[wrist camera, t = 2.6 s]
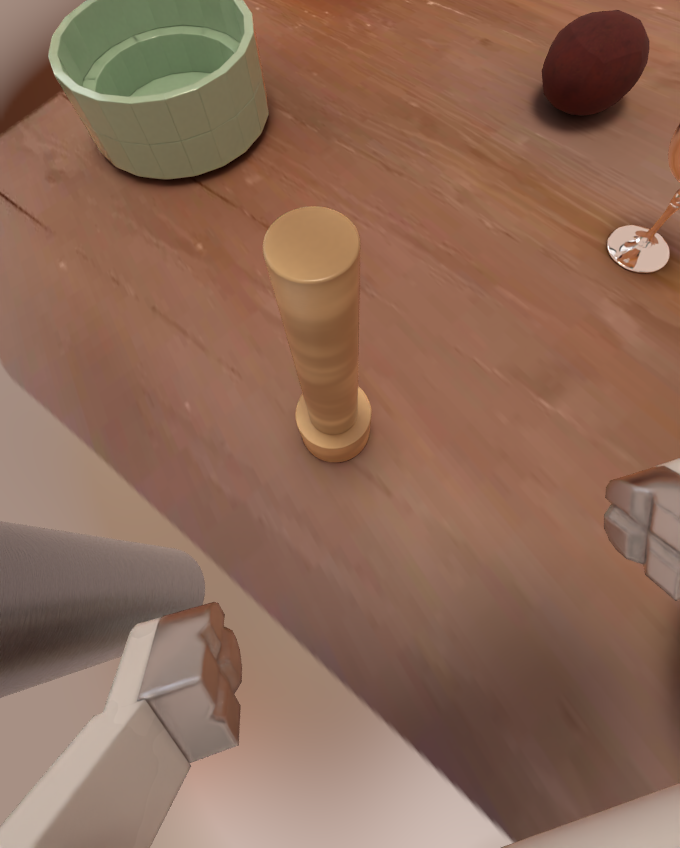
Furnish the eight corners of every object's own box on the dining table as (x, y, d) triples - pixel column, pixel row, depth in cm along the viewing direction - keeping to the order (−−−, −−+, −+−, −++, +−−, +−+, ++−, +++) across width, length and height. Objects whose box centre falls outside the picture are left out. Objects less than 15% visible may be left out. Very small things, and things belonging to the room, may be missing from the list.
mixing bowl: (162, 214, 34) (119, 134, 28) (67, 123, 38) (12, 36, 32) (304, 121, 37) (294, 31, 31) (202, 46, 41) (176, -46, 35)
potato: (515, 82, 38) (543, -4, 32) (603, 69, 38) (646, -19, 32) (542, 138, 35) (578, 54, 30) (636, 123, 35) (690, 38, 30)
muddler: (333, 476, 26) (303, 337, 11) (287, 428, 27) (203, 241, 12) (383, 430, 27) (421, 242, 12) (337, 385, 28) (317, 162, 13)
